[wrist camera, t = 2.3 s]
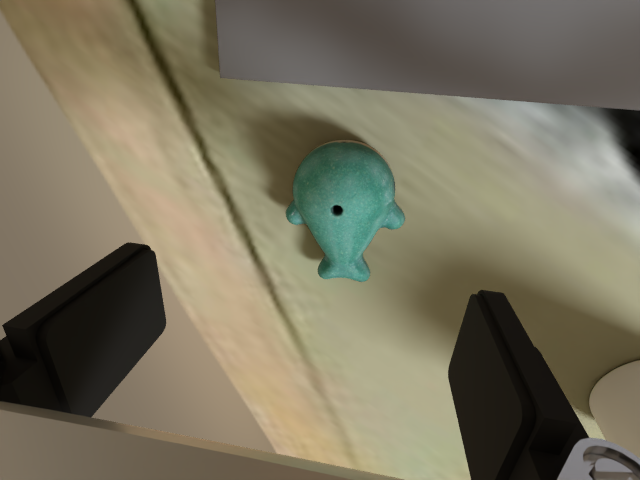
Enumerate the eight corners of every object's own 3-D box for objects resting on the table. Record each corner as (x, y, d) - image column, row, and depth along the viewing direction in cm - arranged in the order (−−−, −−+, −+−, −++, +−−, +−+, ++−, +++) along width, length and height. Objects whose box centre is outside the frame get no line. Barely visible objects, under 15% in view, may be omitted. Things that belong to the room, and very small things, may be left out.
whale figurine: (411, 137, 16) (418, 156, 13) (396, 272, 19) (398, 315, 16) (289, 134, 17) (265, 150, 14) (294, 263, 20) (275, 303, 17)
